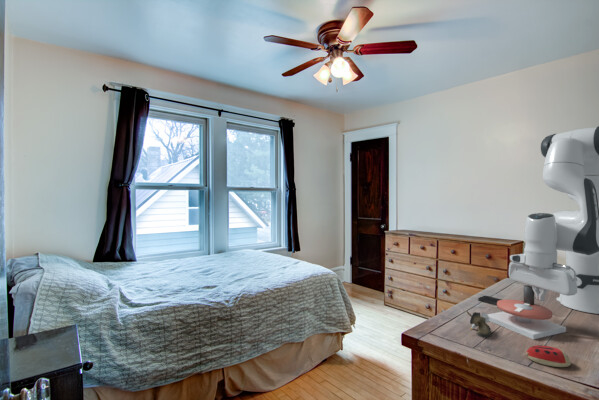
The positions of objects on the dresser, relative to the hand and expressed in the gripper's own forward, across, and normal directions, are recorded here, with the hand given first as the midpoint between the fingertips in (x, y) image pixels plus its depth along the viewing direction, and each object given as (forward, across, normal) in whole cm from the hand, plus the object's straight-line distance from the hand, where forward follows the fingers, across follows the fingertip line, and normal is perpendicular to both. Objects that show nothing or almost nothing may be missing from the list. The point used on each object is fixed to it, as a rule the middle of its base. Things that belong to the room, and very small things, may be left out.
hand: (539, 300), depth 99 cm
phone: (+9, +19, -5) cm, 22 cm away
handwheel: (+4, +1, +6) cm, 7 cm away
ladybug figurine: (+9, -18, +22) cm, 29 cm away
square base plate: (+8, +1, +6) cm, 10 cm away
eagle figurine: (+9, +1, +25) cm, 26 cm away
